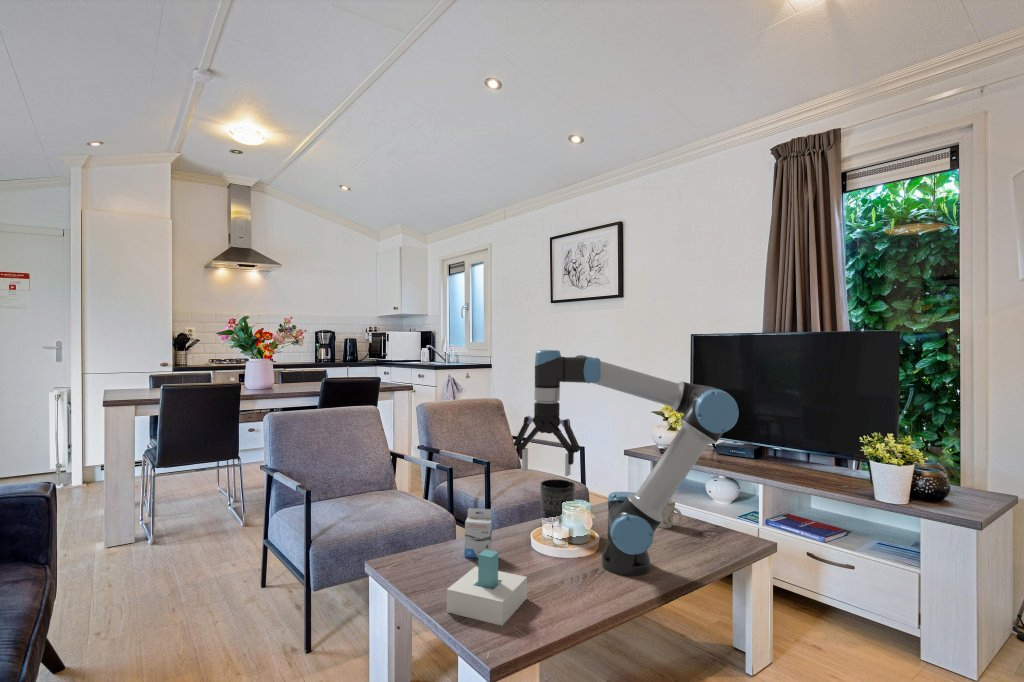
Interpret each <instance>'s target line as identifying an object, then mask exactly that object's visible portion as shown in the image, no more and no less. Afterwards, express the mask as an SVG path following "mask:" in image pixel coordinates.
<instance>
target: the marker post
mask: <svg viewBox="0 0 1024 682" xmlns="http://www.w3.org/2000/svg"><path fill="white" fill-rule="evenodd" d="M477 559H478V560H477V561H478V562H477V563H478V566H477V567H478V586H479V587H483V588H488V589H492V590H493V589H495V588H496V587H497V586H498V571H499V551H495V550H492V549H491V550H484V551H483V552H481V553H480V554H479V555H478V558H477Z"/></svg>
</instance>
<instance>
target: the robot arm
mask: <svg viewBox="0 0 1024 682" xmlns="http://www.w3.org/2000/svg"><path fill="white" fill-rule="evenodd" d="M561 355H562V354H561V351H560V350H557V349H539V350H537V351H536V352H535V355H534V356H535V357H534V358H535V359H534V360H535V361H534V401H535V402H534V404H533V405H534V409H533V410H534V411H533V412H534V414H533V415H534V416H533V417H532V416H531V415H527V416H524V418H523V424H522V426H521V428H520V430H519V432H518V433H517V436H516V437H515V438H516V439H514V442H513V446H514V447H517V448H518V449H519V460H521V471H522V472H525V471H527V470H528V469H529V448H528V447H527V446H528V445H529V443H531V441H532V440H533V439H534V438H535V437H536V435H538V433H540V434H544V433H546V434H553V435H554V436H555V437H556V438H557V440H558V441H559V443H560V444H561V445H562V447H563V448H564V449H565V451H566V453H565V454H564V455H565V458H564V460H565V461H564V465H565V466H564V476H565V477H568V476H571V466H572V465H574V461H575V458H574V457H575V456H574V455H575V453H578V452H580V450H581V447H580V445H579V443H578V441H577V438H576V436H575V434H574V431H573V429H572V427H571V420H570V419H569V418H565V419H561V417H560V405H561V404H560V403H559V401H560V400H561V399H560V398H561V397H560V396H561V395H560V393H561V391H560V390H561V385H560V384H561V383H580V384H584V383H585V384H594V385H598V386H600V387H605V388H608V389H611V390H614V391H618V392H621V393H624V394H629V395H632V396H634V397H636V398H637V397H638V398H640V399H645V400H648V401H651V402H655V403H657V404H662V405H665V406H668V407H670V408H671V409H672V410H673V412H677V413H679V414H682V416H681V418H680V423H681V427H680V429H679V430H678V432H677V433H676V435H675V436H674V438H673V439H672V440H671V442H670V443H669V445H668V447H667V448H666V449H665V451H664V452H663V453H662V455H661V457H660V458H659V460H658V461H657V463H656V464H655V465H654V466H653V468H652V470H651V471H650V473H649V474H648V475H647V477H646V479H645V480H644V481H643V483H642V484H641V485H640V487H639V489H638V490H637V491H636V492H633V491H632V492H631V491H614V492H613V491H612V492H610V493H609V495H608V498H607V540H606V543H605V546H604V549H603V552H602V554H601V565H602V567H603V568H604V569H605V570H607V571H608V572H611V573H614V574H618V575H623V576H640V575H643V574H646V573H648V572H649V571H650V569H651V559H650V555H649V551H648V549H650V548H651V546H652V543H653V541H654V533H655V532H656V530H657V529H658V528H659V527H658V526H659V524H660V523H661V522H662V516H661V512H662V510H663V509H664V507H665V506H666V504H667V503H668V502H669V500H670V499H671V498H673V495H674V494H676V492H677V490H678V489H679V487H680V486H681V484H682V483H683V481H684V480H685V479H686V477H687V476H688V474H689V472H690V471H691V470H692V469H693V467H694V465H695V464H696V463H697V461H698V460H699V458H700V457H701V455H702V454H703V452H704V451H705V450H706V448H707V447H708V446H709V445H712V444H717V443H718V441H719V439H720V438H721V437H722V436H723V434H724V433H726V432H728V431H730V430H731V429H733V427H735V425H736V424H737V423H738V419H739V413H740V412H739V407H738V403H737V402H736V399H735V398H734V397H733V396H732V395H731V394H729V393H728V392H727V391H725V390H723V389H720V388H716V387H713V386H710V385H701V384H696V383H695V384H693V383H690V382H685V381H680V382H675V381H671V380H669V379H668V380H667V379H664V378H660V377H657V376H654V375H650V374H647V373H643V372H640V371H636V370H633V369H629V368H627V367H624V366H623V367H622V366H619V365H616V364H614V363H613V364H612V363H609V362H605V361H602V360H601V359H600V358H599V357H592V356H587V355H583V354H580V355H576V356H573V357H572V356H570V357H569V356H567V357H566V356H561ZM532 423H533V424H534V426H535V427H533V429H532V430H531V432H530V433H529V434H528V435H527V436H526V437H525V435H526V432H527V431H528V429H529V427H530V425H531V424H532ZM560 425H561V426H562V428H564V431H565V434H566V436H567V438H568V439H567V438H566V437H565V436H564V434H563V433H562V430H561V429H560V428H559V426H560Z"/></svg>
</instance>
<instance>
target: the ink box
mask: <svg viewBox="0 0 1024 682" xmlns="http://www.w3.org/2000/svg"><path fill="white" fill-rule="evenodd" d="M479 512H480V513H479ZM492 516H493V515H492V509H490V508H477V507H476V508H475V507H474V508H471V507H469V508H467V517H466V520H465V521H464V553H463V554H464V556H463V557H464V558H472V559H474V558H476V559H478V555H479V554H480V553H481V552H483V551H484V550H491V551H492V541H493V539H492V536H493V534H492V531H493V518H492Z"/></svg>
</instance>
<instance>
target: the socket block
mask: <svg viewBox="0 0 1024 682" xmlns="http://www.w3.org/2000/svg"><path fill="white" fill-rule="evenodd" d="M527 587H528V577H527V576H524V575H520V574H515V573H509V572H505V571H500V570H498V586H497V587H496V588H495V589H493V590H492V589H488V588H483V587H479V586H478V566H474V567H473V568H471V569H469V571H468V572H466V573H465V574H464V575H463V576H462V577H460V578H459V579H457V581H456V582H454V583H453V584H451V585H450V586H449V587H448V588H447V589H446V613H450V614H453V615H457V616H461V617H465V618H470V619H474V620H477V621H481V622H486V623H489V624H494V625H496V626H504V625H505V623H506V622H507V621H508V620H509V619H510V618H511V617H512V616H513V614H514V613H515V612H516V611H517V610H518V609H519V608H520V606H521V605H522V604H523V603H524V602H525V601H527V598H528V597H527V596H528V593H527V592H528V588H527Z"/></svg>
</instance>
